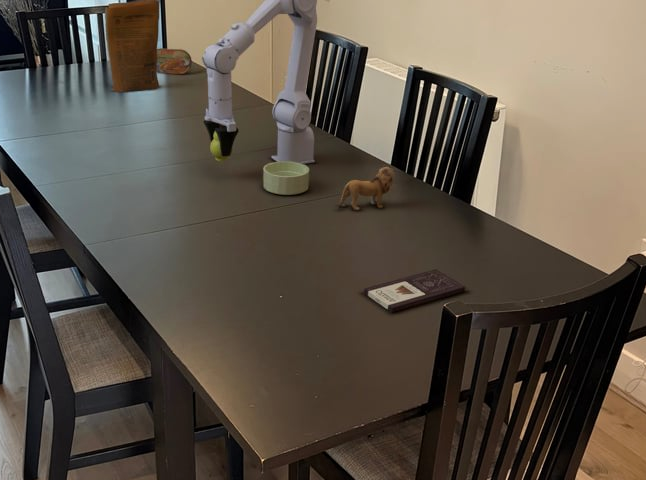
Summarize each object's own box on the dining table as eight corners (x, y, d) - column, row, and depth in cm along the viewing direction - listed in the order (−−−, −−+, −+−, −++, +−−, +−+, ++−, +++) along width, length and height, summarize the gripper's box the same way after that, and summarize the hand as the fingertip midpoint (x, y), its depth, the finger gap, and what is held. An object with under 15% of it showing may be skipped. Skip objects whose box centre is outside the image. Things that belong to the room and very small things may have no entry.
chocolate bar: (465, 287, 163) (392, 308, 155) (464, 291, 164) (391, 312, 155) (435, 269, 169) (364, 288, 161) (435, 273, 170) (363, 292, 162)
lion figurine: (385, 198, 204) (388, 163, 199) (396, 206, 200) (399, 170, 195) (332, 206, 199) (334, 170, 194) (342, 214, 195) (345, 177, 190)
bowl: (295, 177, 215) (296, 159, 212) (316, 192, 206) (317, 173, 204) (255, 183, 210) (255, 164, 207) (275, 199, 202) (275, 179, 199)
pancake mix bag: (167, 89, 283) (162, 0, 267) (113, 94, 275) (104, 3, 260) (161, 84, 288) (155, -3, 272) (107, 89, 280) (98, -1, 265)
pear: (227, 154, 214) (226, 119, 209) (236, 161, 210) (235, 125, 205) (207, 157, 212) (206, 121, 207) (215, 164, 208) (214, 128, 203)
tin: (150, 72, 302) (149, 48, 297) (153, 70, 304) (151, 46, 300) (190, 75, 300) (189, 50, 295) (193, 73, 303) (192, 49, 298)
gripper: (193, 91, 206) (196, 145, 214) (216, 106, 196) (218, 162, 203) (220, 89, 209) (221, 142, 217) (243, 103, 199) (244, 159, 206)
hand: (221, 152), depth 210 cm, fingers closed on pear, 5 cm apart
